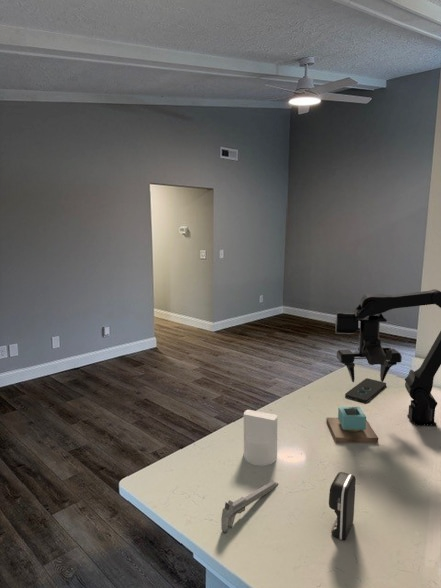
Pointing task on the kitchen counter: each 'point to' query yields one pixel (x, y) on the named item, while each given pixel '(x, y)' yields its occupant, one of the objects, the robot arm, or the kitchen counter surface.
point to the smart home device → (365, 390)
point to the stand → (351, 431)
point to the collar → (352, 419)
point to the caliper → (242, 505)
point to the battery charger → (342, 503)
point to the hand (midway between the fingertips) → (367, 381)
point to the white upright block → (260, 437)
